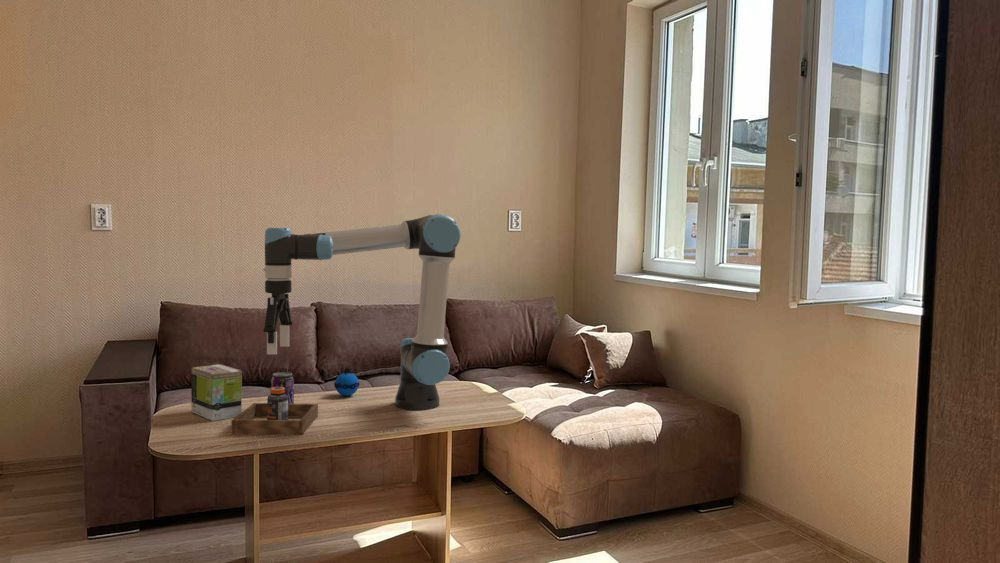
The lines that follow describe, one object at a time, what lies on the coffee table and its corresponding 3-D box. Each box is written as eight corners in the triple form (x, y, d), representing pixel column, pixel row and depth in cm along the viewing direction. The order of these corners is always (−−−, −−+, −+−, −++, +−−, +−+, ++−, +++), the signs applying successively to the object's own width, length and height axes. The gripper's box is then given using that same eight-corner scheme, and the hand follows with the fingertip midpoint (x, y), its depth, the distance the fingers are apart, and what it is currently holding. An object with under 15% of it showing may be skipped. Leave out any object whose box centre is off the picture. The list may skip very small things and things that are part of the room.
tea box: (243, 416, 219) (242, 369, 217) (211, 422, 211) (211, 374, 210) (221, 407, 229) (220, 362, 228) (190, 412, 221) (189, 366, 220)
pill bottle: (263, 424, 210) (263, 387, 209) (281, 421, 214) (281, 384, 213) (273, 428, 206) (273, 391, 205) (291, 425, 210) (291, 388, 209)
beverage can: (286, 413, 223) (287, 376, 222) (266, 412, 224) (266, 375, 223) (297, 408, 229) (297, 372, 229) (278, 406, 231) (278, 371, 230)
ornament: (351, 391, 254) (351, 364, 254) (363, 396, 248) (363, 368, 247) (329, 395, 249) (330, 367, 248) (342, 399, 242) (342, 371, 242)
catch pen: (317, 416, 220) (317, 404, 220) (302, 434, 200) (302, 421, 200) (253, 415, 219) (253, 403, 219) (231, 434, 200) (231, 420, 199)
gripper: (277, 276, 219) (277, 343, 221) (252, 282, 194) (252, 357, 196) (301, 276, 219) (301, 343, 221) (279, 282, 195) (279, 357, 196)
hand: (278, 350), depth 208 cm, fingers open, 13 cm apart
